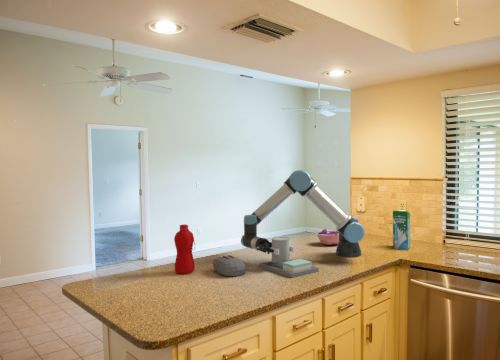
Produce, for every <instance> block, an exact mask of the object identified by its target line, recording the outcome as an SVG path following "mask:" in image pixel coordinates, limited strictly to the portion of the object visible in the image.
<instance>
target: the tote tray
mask: <svg viewBox="0 0 500 360" xmlns="http://www.w3.org/2000/svg"><path fill="white" fill-rule="evenodd" d="M290 261H293V260H292V259H290ZM258 266H259V268H261V269H264V270H267V271H268V272H273V273H276V274H278V275H282V276H284V277H288V278H290V279H293V278H297V277H302V276H306V275H310V274H315V273H318V272H319V267H318V266H314V265H311V268H312V269H307V270H303V271H299V272H294V273H291V272H287V271H284V270H283V265H282V264H277V263H273V262H272V260H269V261H266V262H265V261H264V262H260V263H259V265H258Z"/></svg>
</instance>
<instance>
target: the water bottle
mask: <svg viewBox="0 0 500 360" xmlns="http://www.w3.org/2000/svg"><path fill="white" fill-rule="evenodd" d="M173 240H174V245H175V249H176V256H175V263H174V272H175V273H176V274H181V275H189V274H191V273H193V272H194V271H195V267H196V266H195V259H194V254H193V251H195V250H196V248H194V249H193V246H194V245H196V243H195V237H194V233H193V232H192V231H190V228H189V225H188V224H180V225H179V231H177V232H176V233H175V235H174V239H173Z"/></svg>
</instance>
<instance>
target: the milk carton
mask: <svg viewBox="0 0 500 360" xmlns="http://www.w3.org/2000/svg"><path fill="white" fill-rule="evenodd" d="M392 248H393V249H395V250H403V251H404V250H406V251H407V250H409V249H411V213H410V211H406V210H405V209H399V210H392Z"/></svg>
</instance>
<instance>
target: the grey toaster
mask: <svg viewBox="0 0 500 360" xmlns="http://www.w3.org/2000/svg"><path fill="white" fill-rule="evenodd" d="M212 267H213V269H214V271H215V272H216V273H217V274H219V275H222V276H225V277H238V276H239V277H240V276H242V275H243V274H244V273H245V272H246V264H245V262H243V260H242V259H241V258H239V257H236V256H232V255H230V254H227V255H222V256H218V257H215V258H214V259H213V262H212Z"/></svg>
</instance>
